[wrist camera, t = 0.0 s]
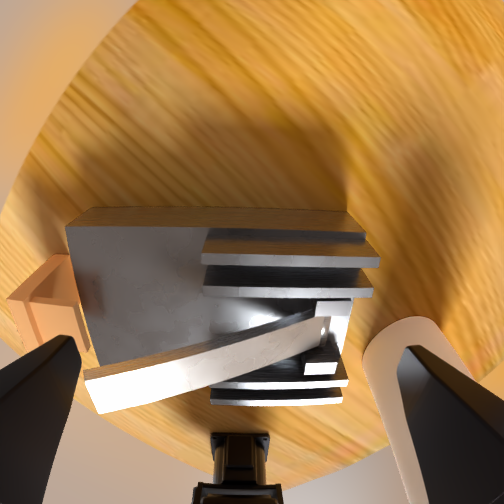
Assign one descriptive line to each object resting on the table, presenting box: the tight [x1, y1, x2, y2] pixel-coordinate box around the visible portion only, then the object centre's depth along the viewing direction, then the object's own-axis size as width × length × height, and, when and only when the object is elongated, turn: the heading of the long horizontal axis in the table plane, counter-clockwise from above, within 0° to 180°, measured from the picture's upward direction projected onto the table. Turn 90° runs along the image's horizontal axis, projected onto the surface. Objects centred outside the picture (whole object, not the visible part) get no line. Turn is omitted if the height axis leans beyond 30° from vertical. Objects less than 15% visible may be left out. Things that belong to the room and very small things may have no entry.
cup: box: [362, 316, 476, 504], centre depth 20 cm, size 8×8×16 cm
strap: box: [83, 309, 332, 414], centre depth 17 cm, size 14×3×1 cm, turn 88°
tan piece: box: [6, 254, 90, 353], centre depth 20 cm, size 4×5×7 cm
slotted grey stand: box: [65, 207, 381, 406], centre depth 21 cm, size 12×18×6 cm, turn 88°
